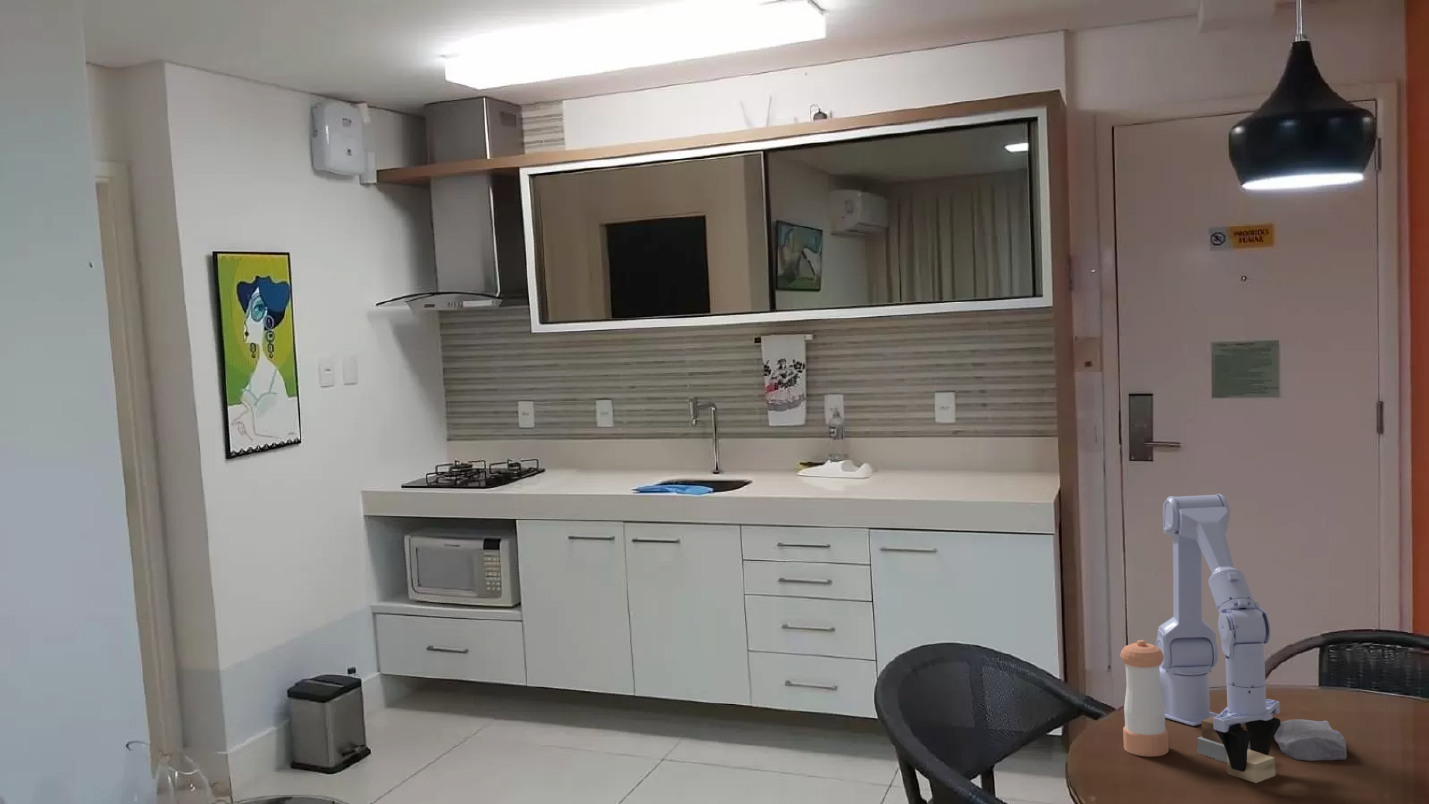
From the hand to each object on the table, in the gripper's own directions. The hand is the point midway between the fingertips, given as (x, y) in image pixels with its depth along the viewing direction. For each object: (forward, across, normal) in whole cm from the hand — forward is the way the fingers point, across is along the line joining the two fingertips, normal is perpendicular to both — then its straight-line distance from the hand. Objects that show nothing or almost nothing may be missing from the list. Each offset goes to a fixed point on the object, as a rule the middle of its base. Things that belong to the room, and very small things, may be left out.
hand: (1249, 765), depth 180 cm
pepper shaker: (+2, -3, +17) cm, 18 cm away
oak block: (+1, 0, 0) cm, 1 cm away
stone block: (+2, +17, +1) cm, 17 cm away
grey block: (+2, +5, +8) cm, 9 cm away
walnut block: (-1, +5, +8) cm, 9 cm away
